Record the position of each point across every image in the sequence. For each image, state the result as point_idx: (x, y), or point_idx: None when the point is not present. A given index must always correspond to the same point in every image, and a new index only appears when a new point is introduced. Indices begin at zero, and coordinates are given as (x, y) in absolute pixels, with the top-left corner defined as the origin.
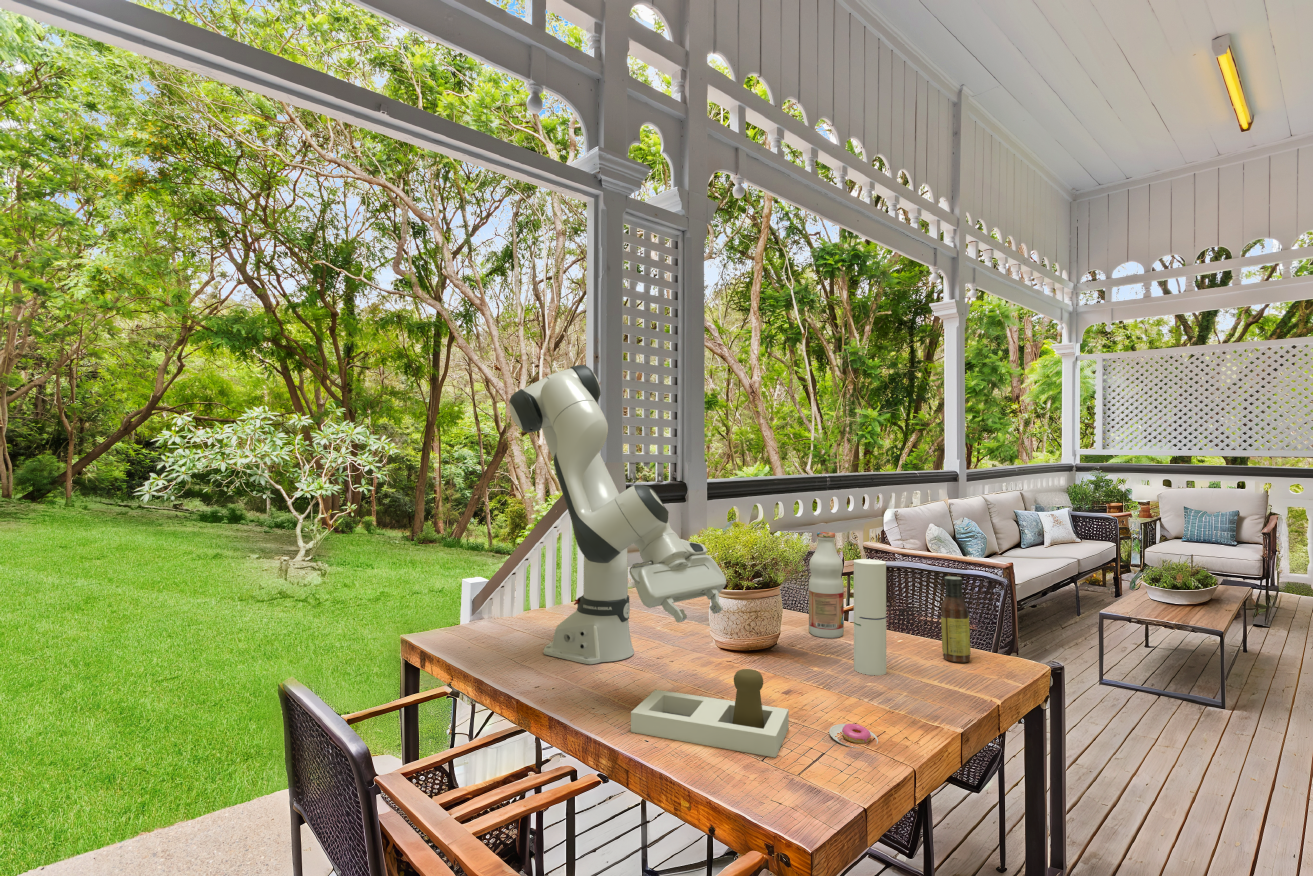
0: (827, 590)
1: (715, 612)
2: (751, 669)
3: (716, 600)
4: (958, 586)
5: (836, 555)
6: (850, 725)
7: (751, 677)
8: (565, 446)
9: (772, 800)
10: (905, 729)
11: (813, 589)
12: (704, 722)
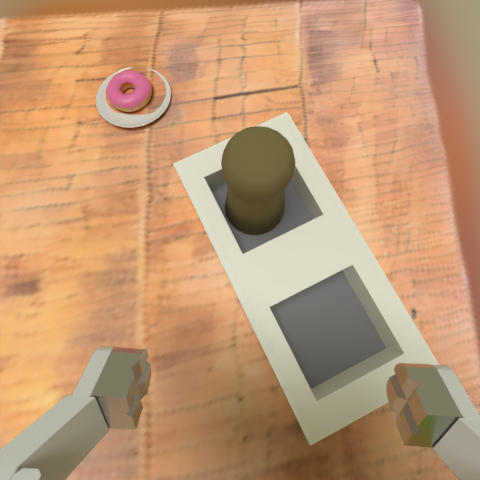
0: None
1: (148, 363)
2: (239, 157)
3: (86, 402)
4: None
5: None
6: (122, 95)
7: (276, 132)
8: None
9: (378, 70)
10: (50, 64)
11: None
12: (347, 227)
